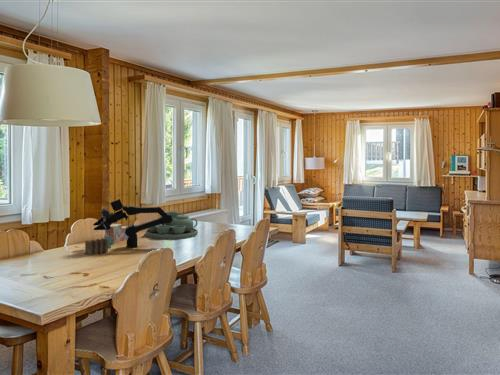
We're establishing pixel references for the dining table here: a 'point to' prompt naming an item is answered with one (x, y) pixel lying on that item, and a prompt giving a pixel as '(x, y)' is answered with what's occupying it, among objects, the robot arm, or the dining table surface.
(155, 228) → the tea set
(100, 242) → the domino
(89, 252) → the domino
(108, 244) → the end domino
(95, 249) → the domino
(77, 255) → the dining table surface
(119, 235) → the stack of blocks
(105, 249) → the domino
